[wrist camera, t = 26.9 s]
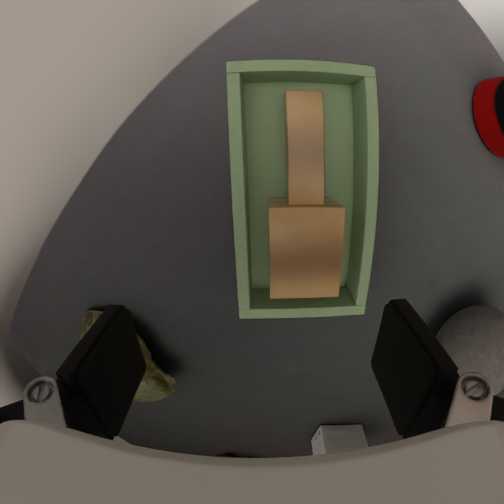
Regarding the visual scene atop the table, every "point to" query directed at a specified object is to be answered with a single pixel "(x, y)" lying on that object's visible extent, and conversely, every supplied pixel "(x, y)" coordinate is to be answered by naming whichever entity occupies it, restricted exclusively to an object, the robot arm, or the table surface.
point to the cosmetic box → (338, 439)
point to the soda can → (490, 113)
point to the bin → (274, 174)
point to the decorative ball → (476, 342)
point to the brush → (305, 209)
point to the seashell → (154, 378)
